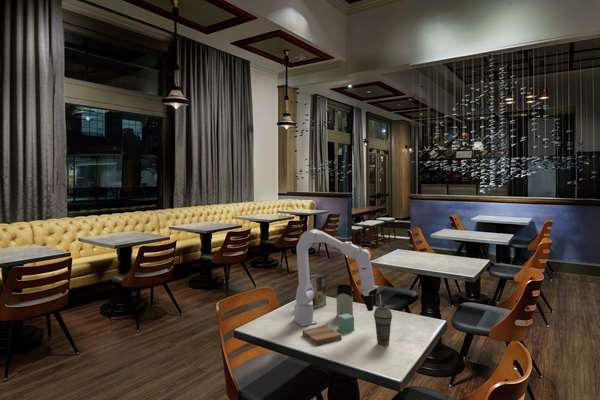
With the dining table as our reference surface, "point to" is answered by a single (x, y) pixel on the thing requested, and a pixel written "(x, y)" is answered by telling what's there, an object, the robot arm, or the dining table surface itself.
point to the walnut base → (322, 335)
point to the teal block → (346, 322)
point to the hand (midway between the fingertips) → (372, 307)
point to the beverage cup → (383, 324)
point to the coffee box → (318, 289)
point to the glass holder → (344, 300)
